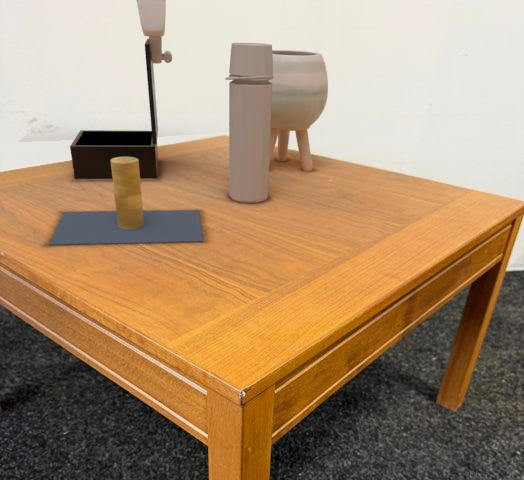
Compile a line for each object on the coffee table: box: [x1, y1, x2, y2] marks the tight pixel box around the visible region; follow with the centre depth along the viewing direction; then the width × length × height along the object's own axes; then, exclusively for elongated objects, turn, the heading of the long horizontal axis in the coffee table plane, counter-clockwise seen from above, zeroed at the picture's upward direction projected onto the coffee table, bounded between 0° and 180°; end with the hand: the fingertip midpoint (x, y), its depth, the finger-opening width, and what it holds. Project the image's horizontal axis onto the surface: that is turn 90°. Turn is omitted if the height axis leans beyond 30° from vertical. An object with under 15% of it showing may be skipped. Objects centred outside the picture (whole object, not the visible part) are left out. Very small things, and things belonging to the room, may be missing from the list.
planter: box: [269, 49, 329, 172], centre depth 114 cm, size 16×16×22 cm
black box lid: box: [144, 38, 173, 145], centre depth 106 cm, size 17×15×5 cm
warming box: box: [69, 129, 159, 180], centre depth 111 cm, size 16×15×7 cm
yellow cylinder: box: [111, 157, 144, 230], centre depth 83 cm, size 4×4×10 cm
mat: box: [48, 209, 204, 247], centre depth 86 cm, size 22×14×1 cm, turn 98°
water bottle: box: [224, 42, 274, 204], centre depth 95 cm, size 9×8×25 cm
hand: (157, 61), depth 103 cm, fingers closed on black box lid, 5 cm apart
